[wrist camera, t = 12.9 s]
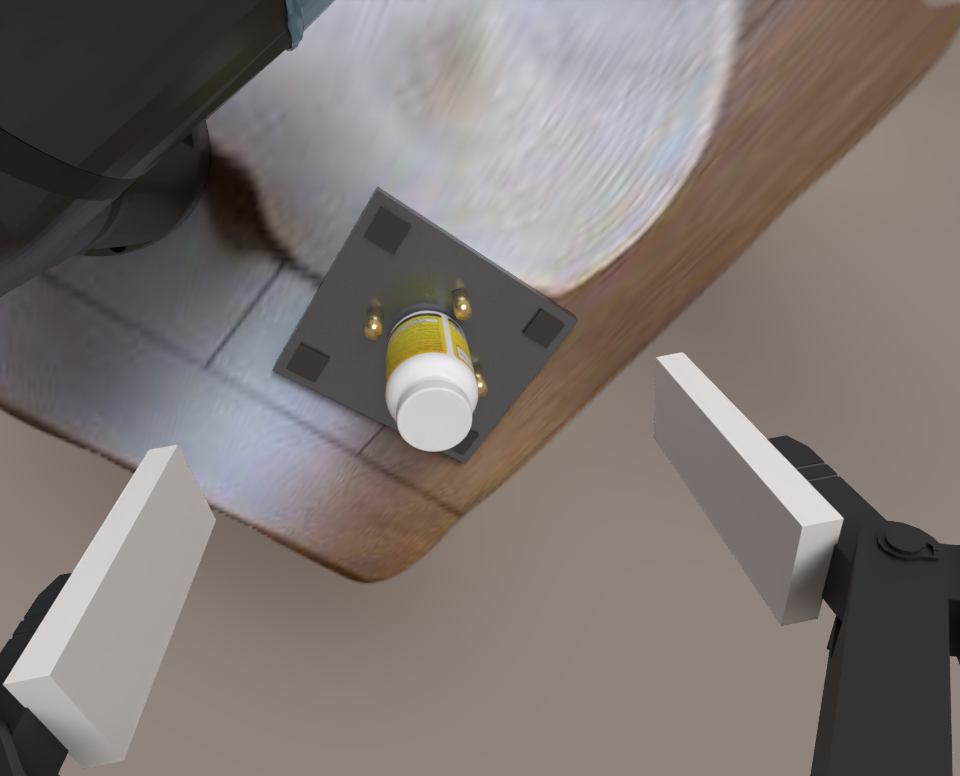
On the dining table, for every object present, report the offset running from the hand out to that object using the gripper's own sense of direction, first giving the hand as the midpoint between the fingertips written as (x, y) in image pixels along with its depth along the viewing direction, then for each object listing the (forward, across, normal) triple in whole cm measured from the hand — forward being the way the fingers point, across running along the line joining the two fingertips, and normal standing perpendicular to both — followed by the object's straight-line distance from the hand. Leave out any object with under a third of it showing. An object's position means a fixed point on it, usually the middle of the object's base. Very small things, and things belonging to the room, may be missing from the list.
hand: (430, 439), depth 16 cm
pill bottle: (+28, -1, -10) cm, 29 cm away
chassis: (+29, -1, -10) cm, 30 cm away
